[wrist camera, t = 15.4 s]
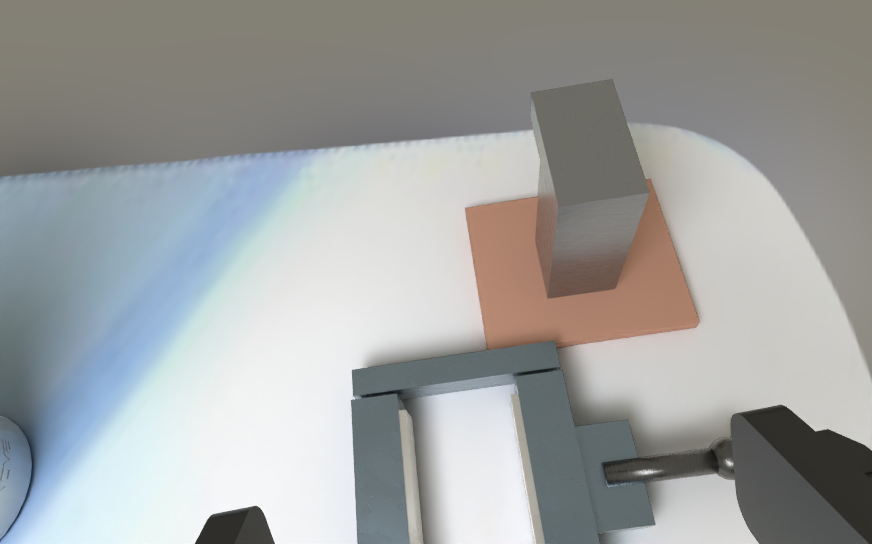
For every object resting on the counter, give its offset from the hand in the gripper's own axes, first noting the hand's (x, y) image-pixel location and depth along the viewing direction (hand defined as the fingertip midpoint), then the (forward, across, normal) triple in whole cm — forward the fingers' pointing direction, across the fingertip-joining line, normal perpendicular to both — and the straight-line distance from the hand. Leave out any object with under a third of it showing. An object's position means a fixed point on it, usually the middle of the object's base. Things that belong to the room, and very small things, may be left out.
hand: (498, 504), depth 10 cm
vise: (+19, -2, +13) cm, 23 cm away
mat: (+27, -7, +5) cm, 28 cm away
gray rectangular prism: (+27, -7, +4) cm, 28 cm away
